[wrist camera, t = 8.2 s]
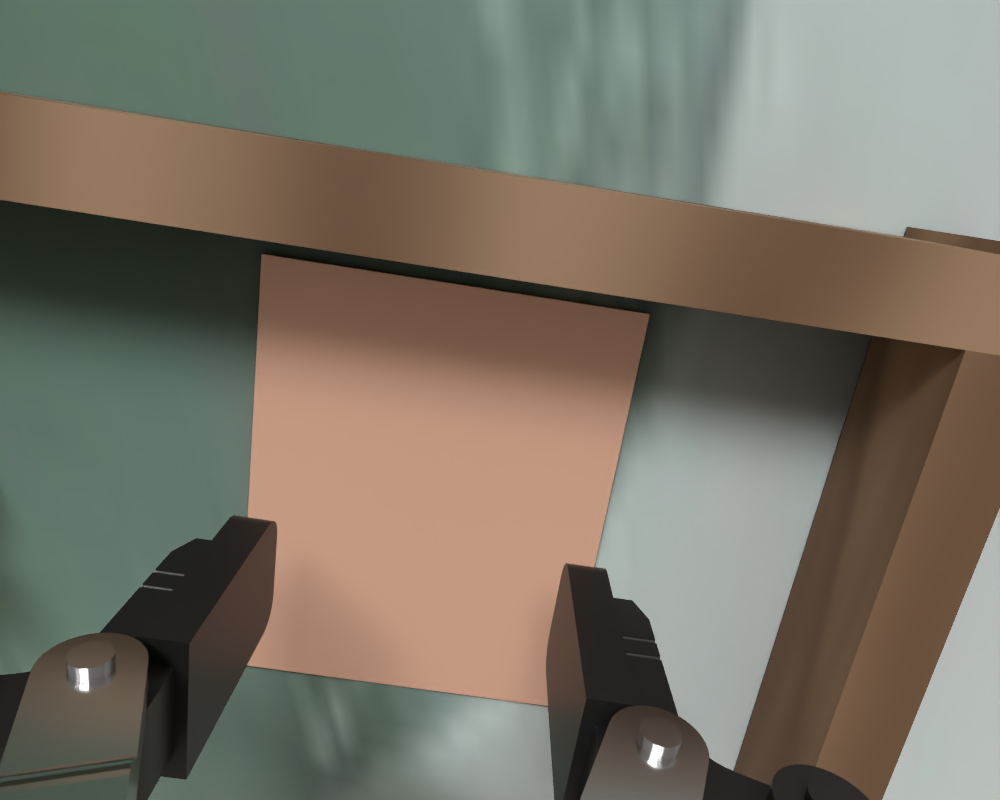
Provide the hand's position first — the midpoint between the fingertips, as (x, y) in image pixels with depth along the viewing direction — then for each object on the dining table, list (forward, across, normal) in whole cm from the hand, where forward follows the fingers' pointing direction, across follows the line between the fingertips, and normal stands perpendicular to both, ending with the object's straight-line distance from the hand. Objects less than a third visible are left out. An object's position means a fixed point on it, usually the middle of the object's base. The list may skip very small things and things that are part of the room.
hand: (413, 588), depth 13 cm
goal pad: (+4, 0, 0) cm, 4 cm away
